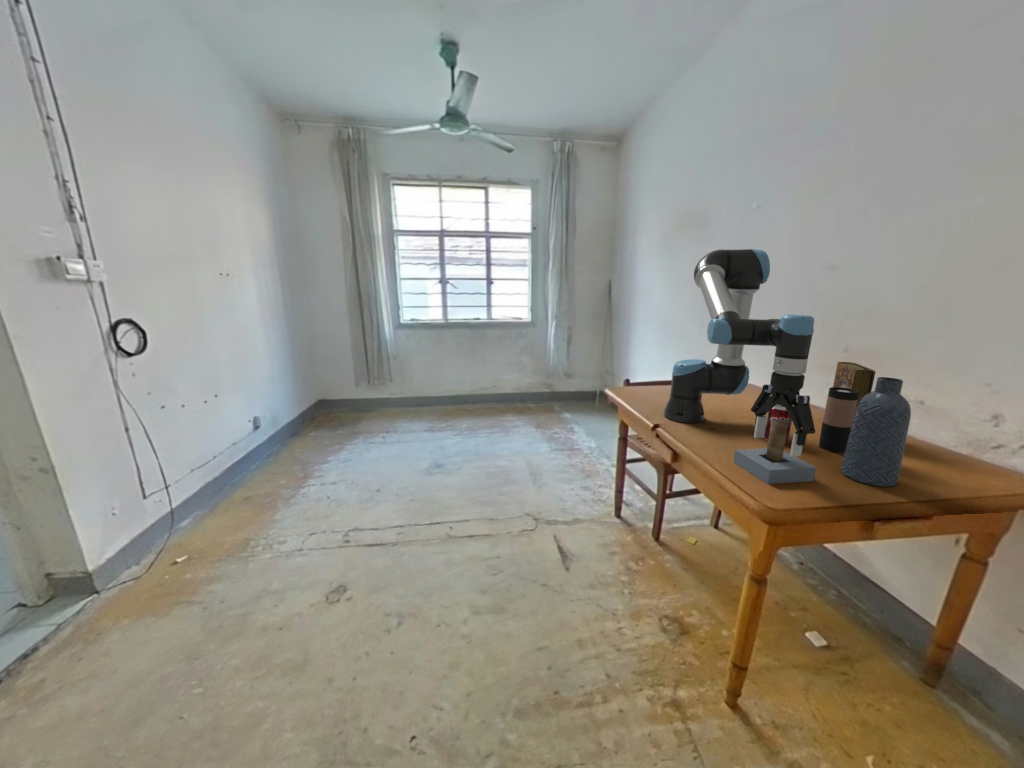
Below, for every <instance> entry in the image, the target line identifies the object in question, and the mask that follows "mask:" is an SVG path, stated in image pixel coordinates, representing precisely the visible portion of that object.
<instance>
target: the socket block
mask: <svg viewBox="0 0 1024 768" xmlns="http://www.w3.org/2000/svg"><path fill="white" fill-rule="evenodd" d="M766 452H767V448H750V449H749V448H748V449H735V450H734V456H733V457H734V458H733V463H734V464H735V465H736V466H739V467H740V468H741V469H743V470H745V471H746V472H747V473H749V474H751V475H753V476H754V477H755V478H758V479H759V480H760V481H762V482H764V483H765V484H767V485H771V484H775V485H776V484H786V483H787V484H789V483H801V482H802V483H803V482H814V481H815V477H816V473H817V467H816V466H814V465H812V464H810V463H809V462H807V461H805V460H802V459H800V458H798V456H790V453H788V452H786V451H784V452H783V458H782V462H779V463H772V462H770V461H768V460H766V459H765V458H766Z"/></svg>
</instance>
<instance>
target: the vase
mask: <svg viewBox="0 0 1024 768" xmlns="http://www.w3.org/2000/svg"><path fill="white" fill-rule="evenodd" d="M903 384H904V380H903V379H900V378H895V377H885V376H883V377H882V376H881V377H880V376H879V377H877V379H876V382H875V387H874V390H873V391H871V393H868V394H867V395H865V396H864V397H863V398H862V399H861V400H860V401H859V403H858V406H857V408H856V412H855V415H854V419H853V423H852V427H851V431H850V434H849V438H848V442H847V446H846V450H845V452H844V453H843V454H844V455H843V458H842V461H841V467H840V470H841V471H840V472H841V473H842V474H843V475H844V476H845V477H847V478H849V479H851V480H853V481H856V482H858V483H863V484H866V485H870V486H876V487H886V488H888V487H894V486H896V485H897V484H898V482H899V479H900V473H901V469H902V462H903V459H904V458H903V457H904V453H905V449H906V448H905V447H906V442H907V437H908V432H909V428H910V422H911V417H912V416H911V415H912V409H911V405H910V403H909V401H908V400H907V399H906V398H905V396H903V395H902V394H901V393H902V390H903V389H902V388H903Z"/></svg>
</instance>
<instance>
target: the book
mask: <svg viewBox="0 0 1024 768" xmlns="http://www.w3.org/2000/svg"><path fill="white" fill-rule="evenodd" d="M875 376H876V370H874V369H872V368H870V367H866V366H864V365H861V364H859V363H855V362H850V361H849V362H848V361H838V362H837V365H836V369H835V373H834V380H833V385H832V387H840V388H848V389H851V390H852V391H854V392H858V391H859V395H858V400H857V405H856V408H857V406H858V403H859V401H860V400H861V399H862V398H863V397H864V396H865V395H867V394H868V393H871V392H873V391H872V390H873V387H874V380H875ZM855 412H856V410H855Z"/></svg>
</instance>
